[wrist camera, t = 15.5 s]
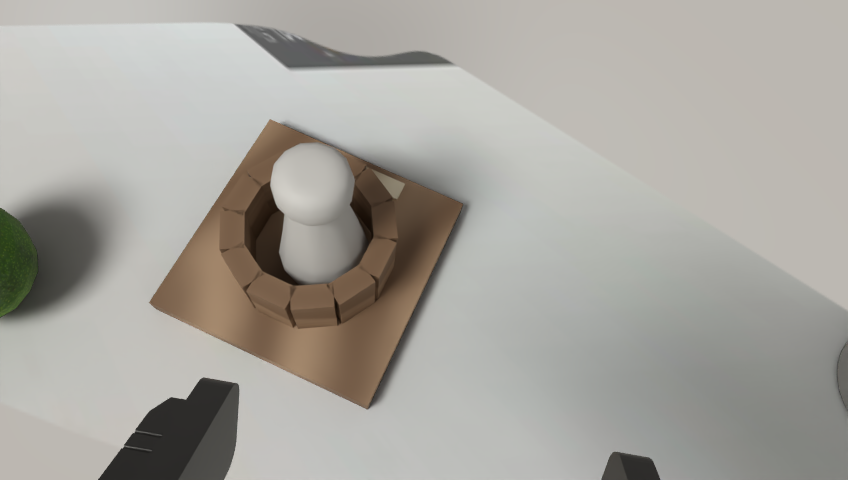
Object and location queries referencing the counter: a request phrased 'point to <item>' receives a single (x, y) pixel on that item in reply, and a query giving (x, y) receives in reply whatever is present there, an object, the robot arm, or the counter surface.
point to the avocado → (15, 263)
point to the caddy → (320, 303)
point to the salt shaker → (317, 214)
